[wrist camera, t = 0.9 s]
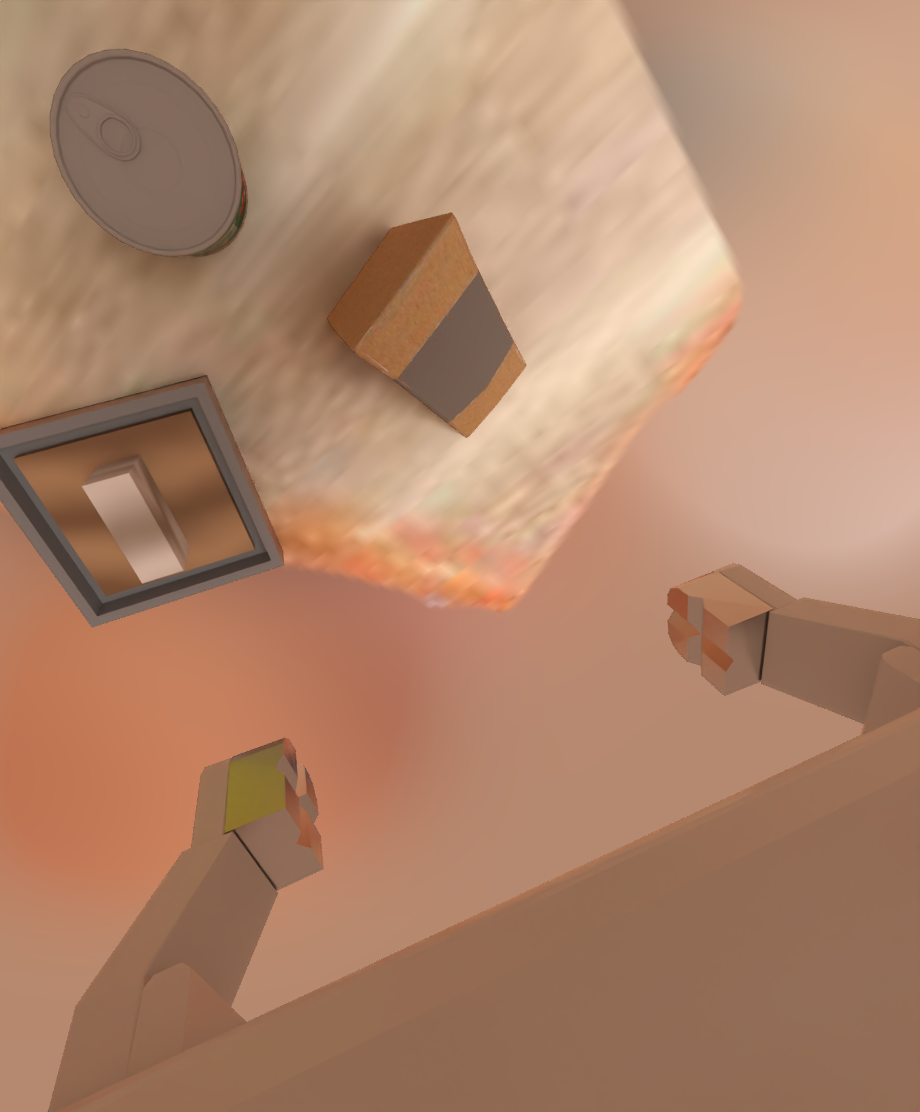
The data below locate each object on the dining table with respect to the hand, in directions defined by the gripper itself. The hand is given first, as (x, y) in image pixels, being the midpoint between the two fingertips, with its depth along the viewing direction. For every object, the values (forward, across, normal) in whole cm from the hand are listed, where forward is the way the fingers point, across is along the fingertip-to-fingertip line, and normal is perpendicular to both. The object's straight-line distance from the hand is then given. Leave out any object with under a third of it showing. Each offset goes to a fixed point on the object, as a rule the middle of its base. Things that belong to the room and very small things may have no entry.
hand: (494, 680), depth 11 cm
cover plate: (+37, +16, +6) cm, 41 cm away
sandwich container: (+38, -9, 0) cm, 39 cm away
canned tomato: (+37, +5, -13) cm, 40 cm away
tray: (+37, +16, +6) cm, 41 cm away
